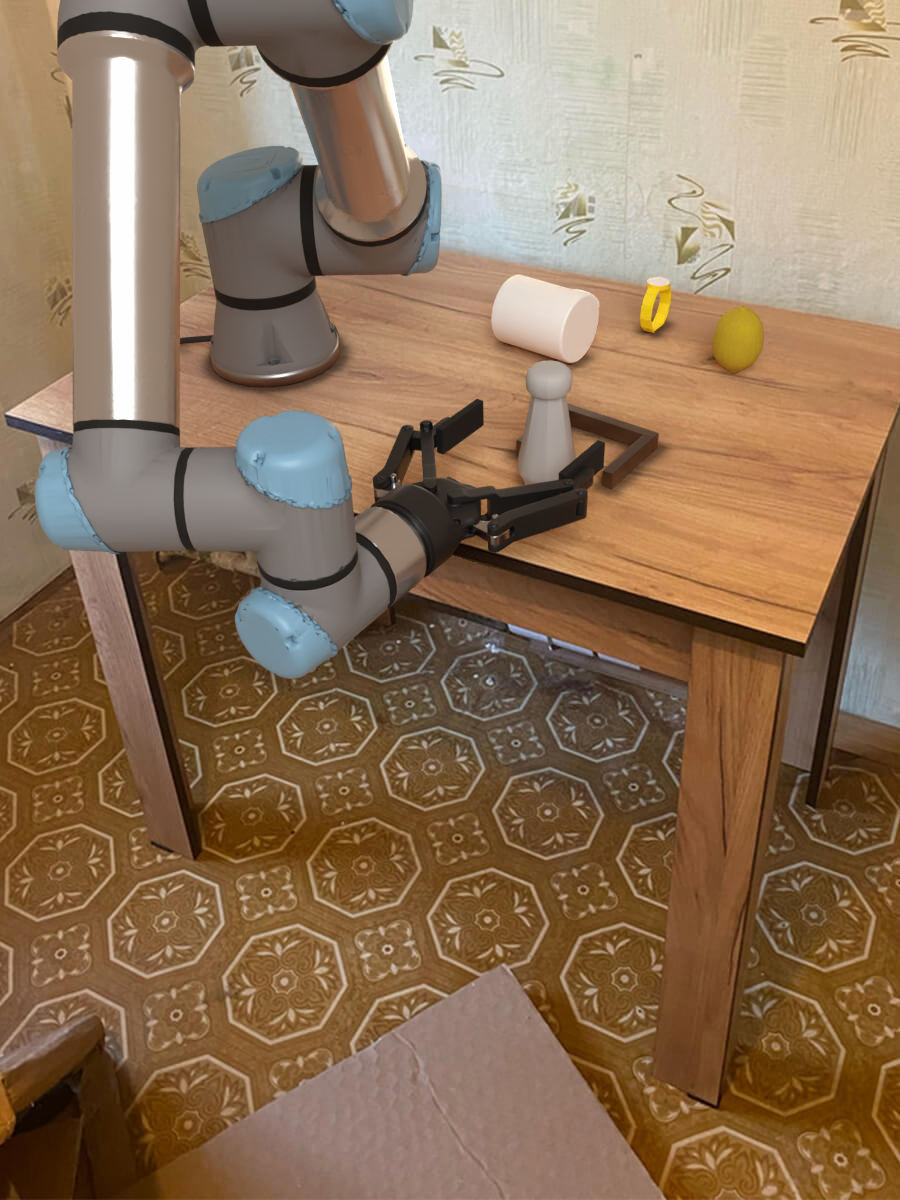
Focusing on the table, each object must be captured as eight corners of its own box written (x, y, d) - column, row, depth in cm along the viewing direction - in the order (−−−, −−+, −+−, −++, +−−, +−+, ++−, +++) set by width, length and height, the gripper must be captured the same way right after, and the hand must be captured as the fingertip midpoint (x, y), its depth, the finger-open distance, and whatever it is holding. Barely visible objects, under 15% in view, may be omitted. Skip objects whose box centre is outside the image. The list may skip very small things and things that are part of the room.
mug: (560, 374, 127) (562, 309, 122) (490, 351, 132) (489, 288, 127) (616, 335, 134) (620, 272, 129) (548, 314, 139) (549, 253, 134)
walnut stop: (515, 454, 114) (516, 439, 113) (564, 416, 120) (564, 402, 118) (611, 489, 108) (612, 474, 107) (657, 447, 114) (659, 432, 113)
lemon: (737, 389, 123) (746, 322, 117) (698, 372, 126) (706, 306, 121) (768, 372, 125) (779, 306, 120) (730, 356, 129) (738, 291, 123)
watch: (653, 340, 132) (658, 293, 129) (632, 335, 134) (636, 288, 130) (674, 320, 136) (679, 274, 132) (653, 316, 137) (657, 270, 134)
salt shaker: (504, 486, 110) (504, 368, 101) (543, 463, 113) (545, 346, 104) (549, 509, 106) (552, 388, 98) (587, 484, 109) (593, 365, 101)
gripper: (292, 530, 100) (436, 428, 113) (519, 635, 88) (652, 507, 100) (280, 459, 95) (432, 361, 108) (519, 560, 83) (659, 436, 96)
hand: (539, 432), depth 104 cm, fingers open, 13 cm apart
